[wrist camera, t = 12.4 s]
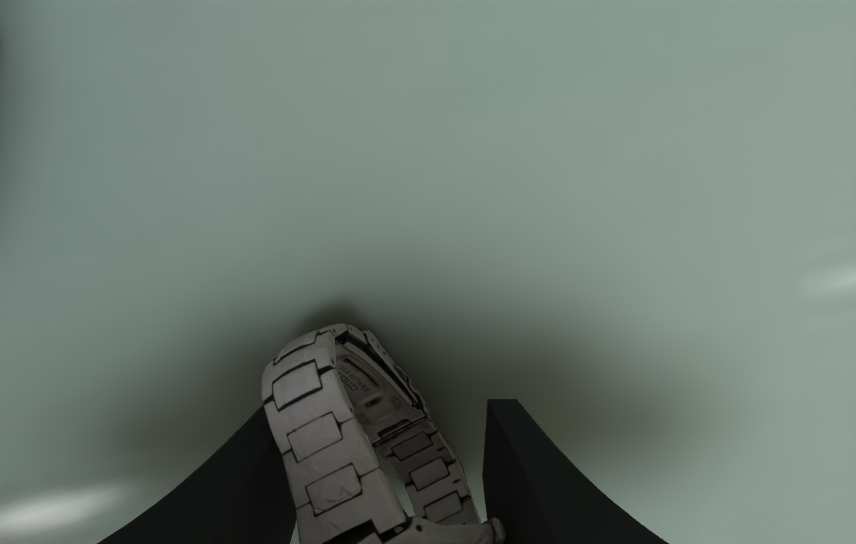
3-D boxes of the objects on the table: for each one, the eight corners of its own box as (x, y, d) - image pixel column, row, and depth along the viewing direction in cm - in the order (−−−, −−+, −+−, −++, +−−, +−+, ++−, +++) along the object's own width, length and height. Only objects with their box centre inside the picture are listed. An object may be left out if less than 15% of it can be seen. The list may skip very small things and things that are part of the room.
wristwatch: (395, 516, 15) (388, 731, 10) (251, 333, 13) (157, 495, 8) (515, 458, 14) (566, 658, 9) (384, 257, 12) (367, 385, 7)
